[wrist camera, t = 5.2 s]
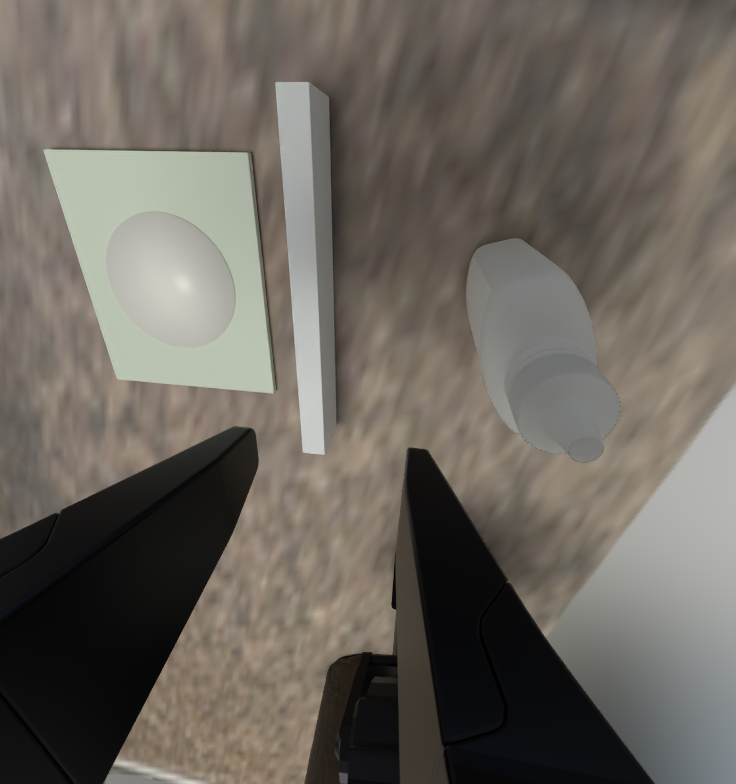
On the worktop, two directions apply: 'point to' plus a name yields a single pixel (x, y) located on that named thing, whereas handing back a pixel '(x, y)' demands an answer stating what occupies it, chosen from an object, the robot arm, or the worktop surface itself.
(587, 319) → the eye dropper bottle
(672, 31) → the worktop surface
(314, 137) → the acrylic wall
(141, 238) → the pad
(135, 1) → the worktop surface
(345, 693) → the pillar candle
